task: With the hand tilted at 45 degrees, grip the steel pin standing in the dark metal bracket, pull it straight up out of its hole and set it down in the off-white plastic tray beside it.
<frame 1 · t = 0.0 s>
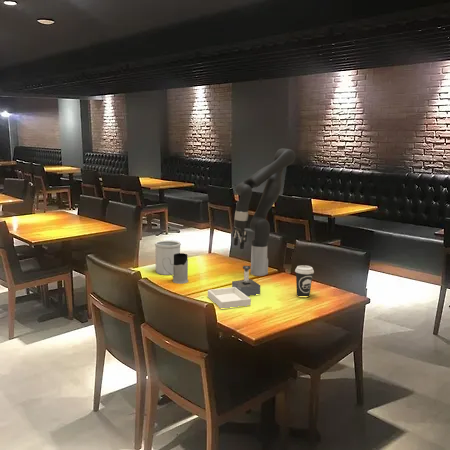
hand: (238, 247, 284), 17 cm above the table, tool pointing down, fingers open, 8 cm apart
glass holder: (175, 281, 276), on the table
steel pin: (246, 279, 258), in the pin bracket
plastic tray: (228, 301, 246), on the table
coffee cup: (303, 296, 257), on the table
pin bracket: (245, 292, 260), on the table
utensil holder: (167, 271, 293), on the table
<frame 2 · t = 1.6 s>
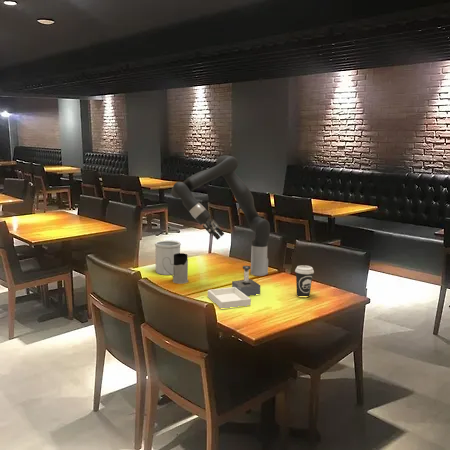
hand: (221, 236, 258), 28 cm above the table, tool tilted 45°, fingers open, 8 cm apart
nothing on the table moved.
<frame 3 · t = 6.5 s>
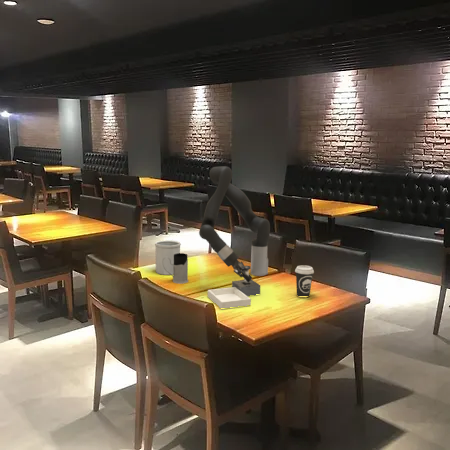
hand: (250, 280, 258), 7 cm above the table, tool tilted 45°, fingers closed on steel pin, 2 cm apart
steel pin: (246, 279, 258), in the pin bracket, touching gripper
everything else where it was.
when the fingers open (9 cm above the table, at t = 13.0 s): steel pin drops 1 cm, resting on plastic tray.
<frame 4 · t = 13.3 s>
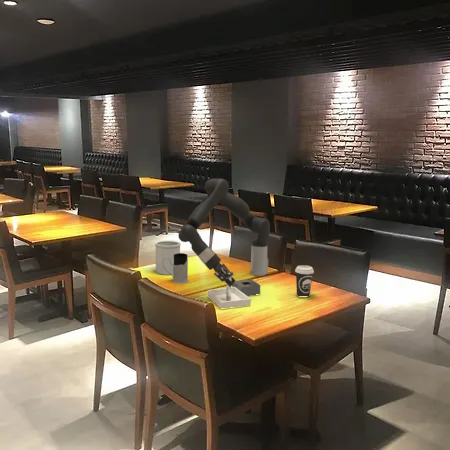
hand: (232, 283, 244), 9 cm above the table, tool tilted 45°, fingers open, 5 cm apart
steel pin: (228, 286, 245), in the plastic tray, point 8 cm above the table
everything else where it was.
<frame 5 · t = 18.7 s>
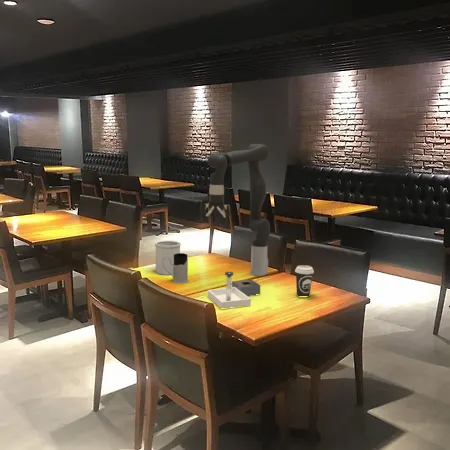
hand: (216, 223, 263), 34 cm above the table, tool pointing down, fingers open, 8 cm apart
nothing on the table moved.
at the end: steel pin inside the target area on the plastic tray (0.1 cm from its centre), point 7.6 cm above the plastic tray's base; the gripper is holding nothing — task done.
